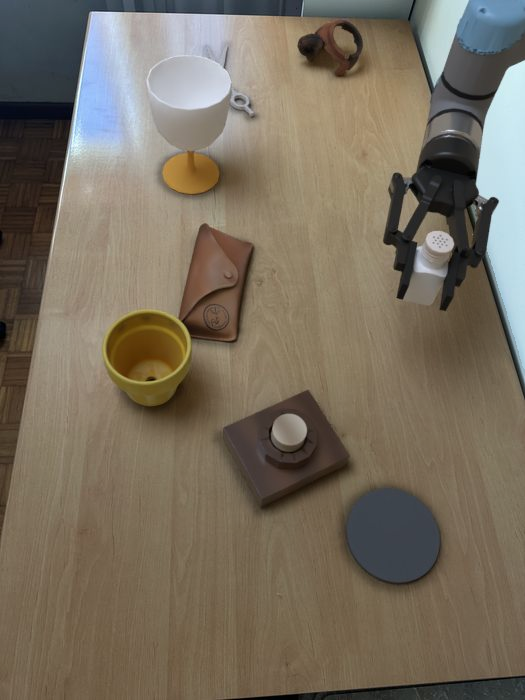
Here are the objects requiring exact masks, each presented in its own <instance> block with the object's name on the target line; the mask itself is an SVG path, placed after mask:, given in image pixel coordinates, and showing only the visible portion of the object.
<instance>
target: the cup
mask: <svg viewBox="0 0 525 700" xmlns="http://www.w3.org/2000/svg"><path fill="white" fill-rule="evenodd" d="M145 82H146V83H145V84H146V92H147V98H148V103H149V107H150V112H151V116H152V119H153V124H154V126H155V128H156V130H157V133H158V134H159V135H161V137H162V138H163V139H164V140H165V141H166V142H167V143H168V144H169V145H170V146H171V147H175V148H176V149H178V150H181V151H186V152H185V153H184V152H183V153H179V154H177V155H174V156H172V157H170V159H168V160H167V161H166V162H165V163H164V165H163V168H162V172H161V174H162V178H163V182H164V183H165V184H166V185H167V186H168V187H169V188H170V189H172V190H174V191H176V192H178V193H180V194H185V195H198V194H203V193H206V192H207V191H209V190H211V189H213V188H214V187H215V186H216V184H217V183H219V180H220V179H219V178H220V174H221V173H220V171H219V170H220V169H219V167H218V164H217V163H216V162H214V160H213V159H212V158H210V157H208V156H206V155H204V154H202V153H195V151H201V150H203V149H206V148H209V147H210V146H212V144H213V143H214V142H215V141H216V140H217V139H218V138H219V137H220V136H221V135H222V134H223V131H224V128H225V126H226V123H227V119H228V115H229V109H230V105H231V103H230V100H231V97H232V93H231V90H232V87H233V82H232V78H231V76H230V74H229V72H228V71H227V70H226V69H225V68H224V67H222V66H221V65H220V64H219V62H217V61H216V62H214V61H212V60H210V58H208V57H205V56H200V55H194V54H184V55H173V56H170V57H168V58H165V59H163V60H160V61H158V62H157V63H156V64H154V66H153V67H151V68H150V70H149V72H148V74H147V77H146V80H145Z"/></svg>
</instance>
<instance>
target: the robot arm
mask: <svg viewBox="0 0 525 700" xmlns="http://www.w3.org/2000/svg"><path fill="white" fill-rule="evenodd" d="M446 57H447V58H446V61H445V64H444V67H443V70H442V71H441V74H440V75H439V77H438V78H437V80H436V82H435V85H434V87H433V91H432V93H431V95H430V101H429V103H430V104H429V105H430V106H429V111H428V117H427V121H426V127H425V130H424V134H423V140H422V143H421V148H420V154H419V156H418V162H417V165H416V166H417V167H416V171H415V172H414V173H413V174H412V176H411V177H403V174H402V173H400V172H393V174H392V177H391V179H390V181H389V185H388V189H387V191H388V194H389V198H390V203H389V208H388V213H387V217H386V223H385V227H384V233H383V238H382V243H383V244H384V245H386V246H393V247H394V248H395V252H394V254H395V257H394V261H393V265H392V267H393V270H394V271H397V272H400V274H401V275H400V278H399V283H398V287H397V292H396V297H395V298H396V299H398V300H401V301H404V300H403V298H404V296H405V294H406V292H407V289H408V287H409V284H410V279H411V274H412V269H413V263H414V258H415V253H416V248H417V247H418V241H414V238H415V236H416V235H417V233H418V231H419V229H420V227H421V225H422V223H423V221H424V219H426V216H427V215H428V213H431V214H433V213H434V214H439V215H440V216H443V217H445V222H446V223H445V224H446V226H448V235H449V236H451V237H452V238H453V242H454V247H453V249H452V251H451V256H450V257H449V259H448V272H447V276H446V278H445V280H444V282H443V284H442V290H441V296H440V302H439V311H442V312H447V311H448V308H449V306H450V304H451V303H452V301H453V299H454V297H455V291H456V290H455V289H456V287H458V288H460V287H461V286H462V284H463V283H464V281H465V279H466V277H467V271H468V270H467V269H468V267H470V268H472V269H477V268H479V266H480V264H481V263H482V261H483V259H484V257H485V256H486V253H487V249H488V243H489V235H490V230H491V223H492V216H493V214H494V212H495V210H496V209H497V207H498V205H499V203H500V200H499V199H498V198H497V197H496V196H491V197H490V198H488V199H487V198H485V197H484V196H482V195H480V191H479V187H478V186H477V181H478V180H477V179H478V172H479V167H480V166H479V165H480V159H481V152H482V142H483V135H484V128H485V124H486V118H487V114H488V112H489V110H490V107H491V105H492V103H493V100H494V99H495V97H496V94H497V92H498V90H499V88H500V85H501V83H502V81H503V79H504V77H505V75H506V72H507V71H508V69H509V68H512V66H516V65H518V64H520V63H522V62H525V0H468V2H467V4H466V6H465V9H464V11H463V13H462V16H461V18H459V21H458V23H457V26H456V31H455V33H454V38H453V40H452V43H451V45H450V49H449V52H448V55H447V56H446ZM409 190H410V191H411V193H412V194H413V196H414V197H415V199H416V201H417V202H418V204H417V206H416V208H415V210H414V212H413V214H412V215H411V217H410V219H409V221H408V223H407V224H406V226H405V228H404V230H403V231H402V230H399V225H400V220H401V215H402V210H403V209H402V208H403V204H404V198H405V195H407V193H408V191H409ZM471 206H474V207H475V209H474V212H475V217H476V218H477V219H476V220H475V224H474V229H473V235H472V241H471V246H470V240H469V233H468V227H467V220H466V209H468V208H470V207H471Z"/></svg>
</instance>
